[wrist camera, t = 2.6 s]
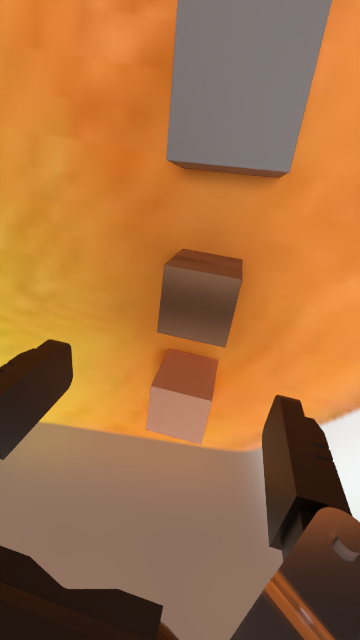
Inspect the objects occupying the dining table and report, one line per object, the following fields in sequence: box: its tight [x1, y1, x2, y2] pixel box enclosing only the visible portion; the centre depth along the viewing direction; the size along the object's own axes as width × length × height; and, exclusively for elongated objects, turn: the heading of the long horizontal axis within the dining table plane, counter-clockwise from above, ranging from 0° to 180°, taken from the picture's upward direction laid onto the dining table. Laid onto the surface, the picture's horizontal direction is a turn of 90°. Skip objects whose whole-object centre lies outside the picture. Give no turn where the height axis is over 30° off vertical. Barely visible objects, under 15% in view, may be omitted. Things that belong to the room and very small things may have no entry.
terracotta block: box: [146, 349, 218, 445], centre depth 25 cm, size 5×5×6 cm
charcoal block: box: [167, 0, 332, 178], centre depth 16 cm, size 7×7×5 cm
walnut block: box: [157, 249, 242, 347], centre depth 21 cm, size 5×5×6 cm
